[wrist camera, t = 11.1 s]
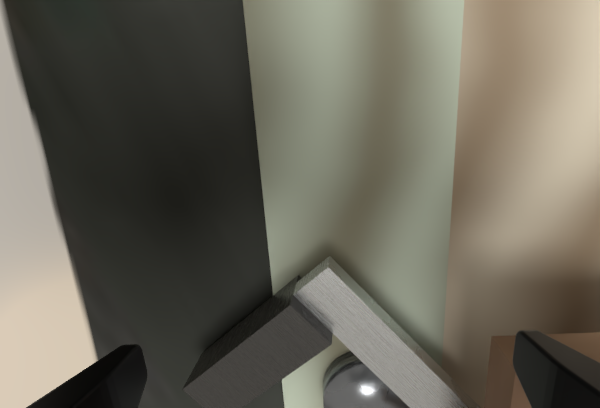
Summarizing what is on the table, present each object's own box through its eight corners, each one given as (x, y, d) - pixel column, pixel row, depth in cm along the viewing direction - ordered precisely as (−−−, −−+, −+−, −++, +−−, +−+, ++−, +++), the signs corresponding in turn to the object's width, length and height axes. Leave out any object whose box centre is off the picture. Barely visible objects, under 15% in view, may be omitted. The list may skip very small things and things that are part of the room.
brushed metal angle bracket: (327, 275, 14) (182, 389, 17) (502, 449, 16) (342, 526, 18) (330, 248, 16) (202, 353, 19) (483, 402, 18) (343, 478, 21)
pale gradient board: (866, -95, 13) (1404, -263, 6) (692, 424, 20) (866, 582, 14) (241, -39, 14) (181, -137, 8) (288, 432, 21) (278, 582, 15)
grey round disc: (403, 339, 18) (409, 357, 17) (418, 410, 19) (424, 430, 18) (313, 357, 19) (313, 375, 17) (333, 424, 20) (335, 445, 19)
